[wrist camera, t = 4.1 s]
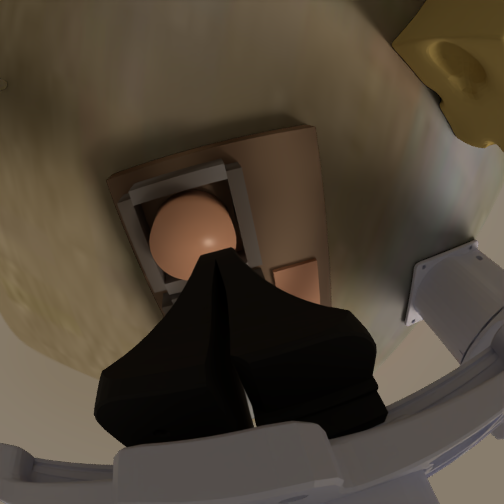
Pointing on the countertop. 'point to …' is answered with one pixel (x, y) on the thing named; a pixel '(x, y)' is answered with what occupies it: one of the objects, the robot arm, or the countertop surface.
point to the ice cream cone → (2, 84)
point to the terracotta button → (189, 231)
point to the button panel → (240, 208)
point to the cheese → (461, 64)
